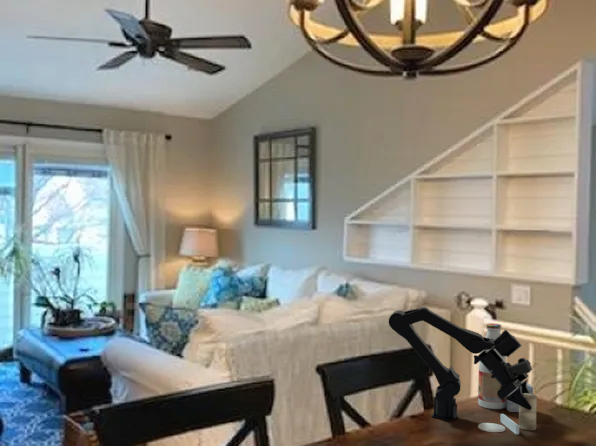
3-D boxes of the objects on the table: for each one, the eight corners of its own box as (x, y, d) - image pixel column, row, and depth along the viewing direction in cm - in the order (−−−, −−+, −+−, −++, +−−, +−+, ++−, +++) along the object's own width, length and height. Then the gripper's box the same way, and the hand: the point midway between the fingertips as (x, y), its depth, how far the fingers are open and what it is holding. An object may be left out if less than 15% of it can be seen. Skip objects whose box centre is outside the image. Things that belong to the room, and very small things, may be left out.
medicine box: (529, 409, 225) (530, 383, 225) (532, 413, 221) (533, 387, 221) (505, 408, 226) (506, 382, 226) (508, 412, 222) (508, 386, 222)
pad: (473, 428, 204) (473, 427, 204) (484, 422, 210) (484, 421, 210) (498, 434, 199) (498, 433, 199) (509, 427, 205) (509, 426, 205)
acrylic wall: (500, 421, 211) (500, 413, 211) (503, 421, 211) (503, 413, 211) (515, 434, 199) (516, 426, 199) (519, 434, 199) (519, 426, 199)
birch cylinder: (516, 427, 205) (516, 395, 205) (522, 424, 209) (523, 392, 209) (532, 431, 202) (533, 398, 202) (538, 427, 206) (539, 395, 206)
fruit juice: (491, 411, 222) (493, 327, 222) (472, 403, 231) (473, 323, 230) (512, 407, 227) (514, 325, 226) (492, 400, 235) (494, 321, 235)
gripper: (509, 356, 199) (547, 398, 194) (522, 345, 215) (557, 384, 210) (482, 378, 203) (518, 420, 198) (496, 366, 219) (531, 405, 214)
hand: (532, 407), depth 205 cm, fingers closed on birch cylinder, 5 cm apart
